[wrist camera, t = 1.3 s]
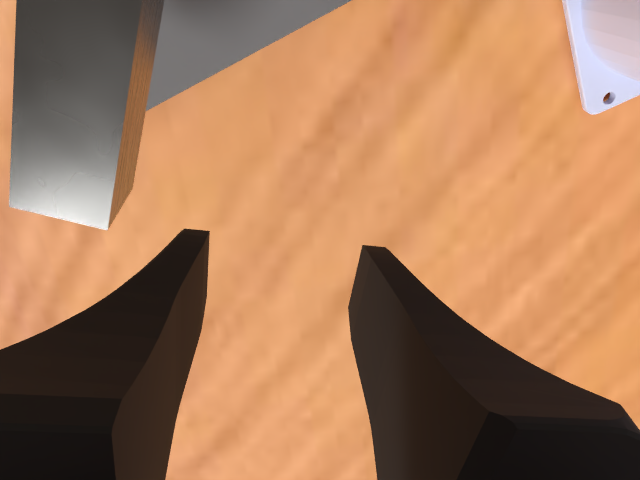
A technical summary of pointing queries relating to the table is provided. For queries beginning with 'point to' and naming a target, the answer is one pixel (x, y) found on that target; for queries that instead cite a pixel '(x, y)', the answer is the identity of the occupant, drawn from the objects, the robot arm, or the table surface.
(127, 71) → the cooker lid
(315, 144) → the table surface
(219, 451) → the table surface
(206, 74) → the charcoal trivet mat
